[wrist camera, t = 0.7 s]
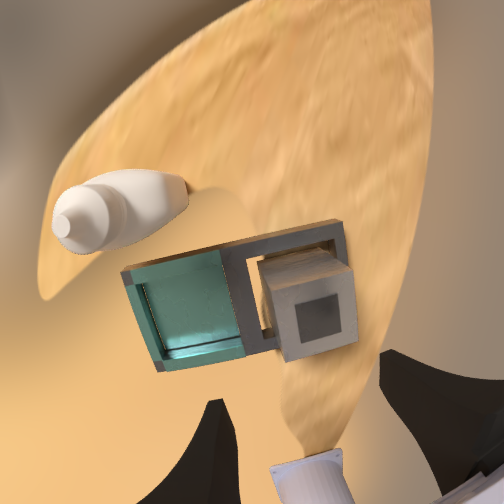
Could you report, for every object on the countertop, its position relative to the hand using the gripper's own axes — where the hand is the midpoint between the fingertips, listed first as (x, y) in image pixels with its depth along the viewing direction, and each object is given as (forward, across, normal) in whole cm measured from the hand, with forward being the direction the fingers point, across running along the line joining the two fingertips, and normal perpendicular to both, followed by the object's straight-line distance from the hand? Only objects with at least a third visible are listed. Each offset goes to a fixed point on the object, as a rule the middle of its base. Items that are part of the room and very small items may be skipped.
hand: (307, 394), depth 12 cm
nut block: (+10, -2, -1) cm, 11 cm away
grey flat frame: (+10, +2, -1) cm, 10 cm away
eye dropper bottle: (+10, +6, -9) cm, 15 cm away
